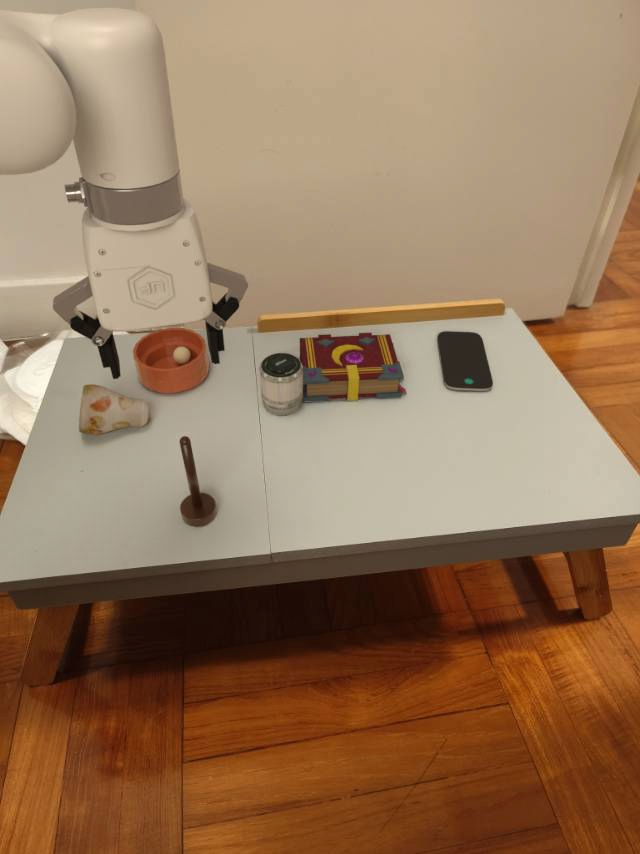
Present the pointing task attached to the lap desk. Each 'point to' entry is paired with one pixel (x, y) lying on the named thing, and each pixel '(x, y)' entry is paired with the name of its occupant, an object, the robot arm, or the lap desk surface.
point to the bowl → (170, 360)
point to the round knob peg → (195, 492)
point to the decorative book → (350, 367)
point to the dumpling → (181, 355)
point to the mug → (109, 411)
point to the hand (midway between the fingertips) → (166, 363)
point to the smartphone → (464, 361)
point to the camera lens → (281, 383)
